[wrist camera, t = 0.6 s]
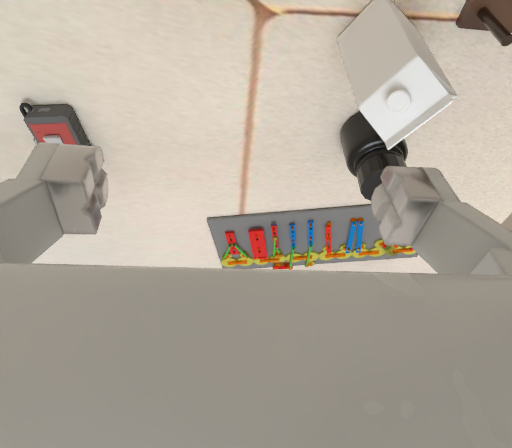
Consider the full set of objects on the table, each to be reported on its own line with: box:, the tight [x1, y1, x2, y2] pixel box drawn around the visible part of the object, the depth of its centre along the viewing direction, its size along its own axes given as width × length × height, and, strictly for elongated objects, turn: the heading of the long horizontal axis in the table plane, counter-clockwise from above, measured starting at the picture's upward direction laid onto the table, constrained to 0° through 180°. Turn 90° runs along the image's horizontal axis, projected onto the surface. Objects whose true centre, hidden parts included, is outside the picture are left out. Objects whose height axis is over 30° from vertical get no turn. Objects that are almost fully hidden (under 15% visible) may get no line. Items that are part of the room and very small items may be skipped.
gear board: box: [207, 205, 418, 270], centre depth 82 cm, size 45×2×19 cm
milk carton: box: [337, 0, 458, 150], centre depth 42 cm, size 7×7×19 cm
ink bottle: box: [341, 113, 408, 201], centre depth 57 cm, size 10×9×12 cm
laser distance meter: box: [20, 103, 90, 148], centre depth 61 cm, size 9×4×20 cm
